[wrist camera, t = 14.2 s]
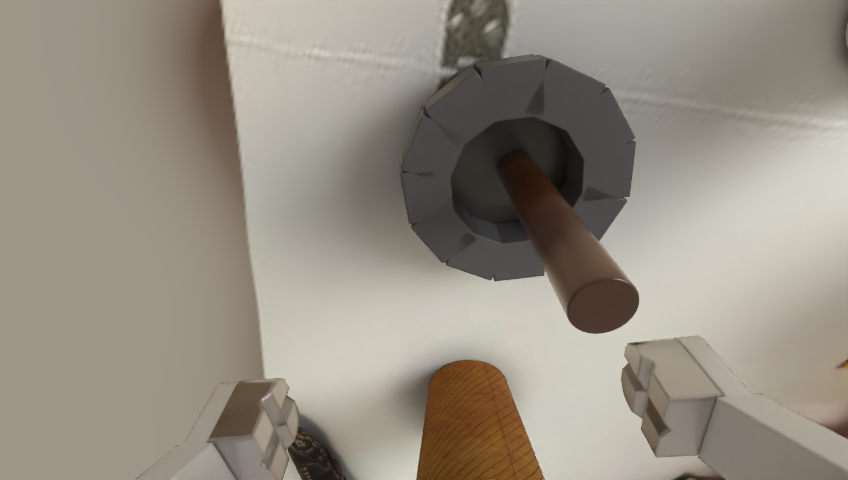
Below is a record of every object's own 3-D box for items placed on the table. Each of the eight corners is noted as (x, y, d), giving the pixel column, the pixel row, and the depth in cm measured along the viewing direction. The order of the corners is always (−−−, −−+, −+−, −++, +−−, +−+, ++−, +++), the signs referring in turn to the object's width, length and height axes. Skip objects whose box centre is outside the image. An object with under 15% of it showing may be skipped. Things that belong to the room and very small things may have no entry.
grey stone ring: (388, 75, 19) (383, 82, 17) (623, 40, 19) (648, 42, 17) (420, 267, 25) (420, 290, 23) (604, 245, 24) (621, 267, 22)
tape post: (433, 98, 21) (445, 194, 9) (584, 76, 21) (798, 148, 9) (449, 229, 25) (472, 414, 13) (577, 213, 25) (720, 391, 13)
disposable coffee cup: (460, 440, 35) (476, 618, 25) (384, 385, 32) (365, 564, 21) (550, 390, 32) (612, 568, 22) (476, 323, 29) (506, 496, 18)
